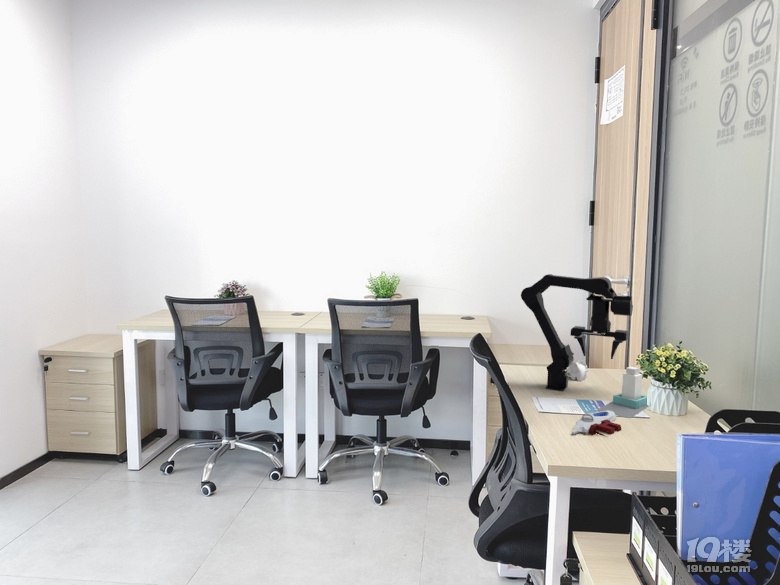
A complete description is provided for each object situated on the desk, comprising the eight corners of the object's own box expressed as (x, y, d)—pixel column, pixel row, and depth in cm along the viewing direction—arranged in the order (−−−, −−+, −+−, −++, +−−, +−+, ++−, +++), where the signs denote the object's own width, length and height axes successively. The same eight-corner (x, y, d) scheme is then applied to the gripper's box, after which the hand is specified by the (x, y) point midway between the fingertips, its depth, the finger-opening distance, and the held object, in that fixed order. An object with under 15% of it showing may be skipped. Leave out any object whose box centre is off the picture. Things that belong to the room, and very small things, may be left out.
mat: (630, 421, 191) (630, 418, 191) (595, 413, 198) (595, 410, 198) (653, 406, 207) (653, 403, 207) (620, 399, 214) (620, 396, 214)
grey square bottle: (621, 403, 206) (623, 367, 205) (628, 400, 209) (630, 365, 208) (633, 406, 203) (635, 370, 201) (640, 404, 206) (642, 368, 204)
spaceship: (601, 416, 196) (602, 402, 196) (621, 422, 191) (622, 407, 191) (559, 432, 181) (560, 417, 180) (579, 439, 176) (580, 423, 176)
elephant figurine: (568, 375, 247) (569, 357, 246) (591, 379, 241) (592, 361, 240) (559, 378, 241) (560, 360, 241) (583, 383, 235) (584, 364, 234)
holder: (612, 402, 206) (613, 395, 206) (625, 398, 212) (626, 391, 211) (636, 408, 200) (636, 401, 200) (648, 404, 206) (649, 396, 205)
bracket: (607, 418, 185) (589, 425, 179) (625, 423, 181) (607, 430, 175) (607, 427, 186) (588, 435, 179) (624, 432, 181) (606, 440, 175)
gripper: (632, 312, 220) (629, 356, 222) (578, 308, 229) (576, 350, 231) (627, 317, 210) (624, 362, 212) (571, 312, 220) (569, 356, 221)
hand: (598, 357), depth 220 cm, fingers open, 9 cm apart
